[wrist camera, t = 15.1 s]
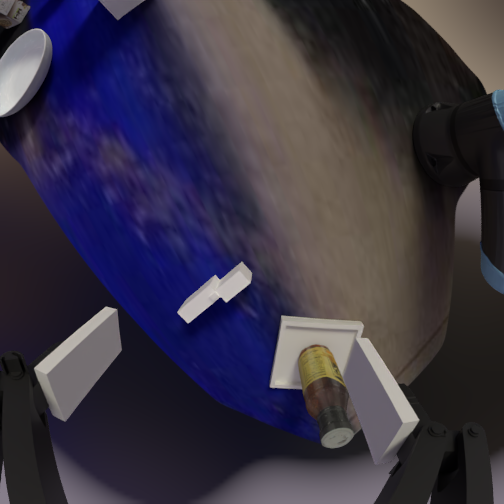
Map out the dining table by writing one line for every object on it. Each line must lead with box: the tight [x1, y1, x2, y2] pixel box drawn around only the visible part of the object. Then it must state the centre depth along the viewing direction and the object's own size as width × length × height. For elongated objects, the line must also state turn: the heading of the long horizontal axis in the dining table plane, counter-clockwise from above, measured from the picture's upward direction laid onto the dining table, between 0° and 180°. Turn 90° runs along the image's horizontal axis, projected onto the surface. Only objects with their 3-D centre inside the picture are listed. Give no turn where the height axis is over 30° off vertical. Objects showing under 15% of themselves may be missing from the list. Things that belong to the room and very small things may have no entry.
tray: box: [270, 316, 364, 389], centre depth 45 cm, size 14×14×2 cm
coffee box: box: [0, 0, 30, 29], centre depth 22 cm, size 9×6×16 cm
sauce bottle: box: [298, 344, 354, 448], centre depth 35 cm, size 7×6×20 cm
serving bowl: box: [0, 29, 52, 117], centre depth 32 cm, size 21×21×7 cm
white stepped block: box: [177, 262, 252, 323], centre depth 41 cm, size 15×11×6 cm
